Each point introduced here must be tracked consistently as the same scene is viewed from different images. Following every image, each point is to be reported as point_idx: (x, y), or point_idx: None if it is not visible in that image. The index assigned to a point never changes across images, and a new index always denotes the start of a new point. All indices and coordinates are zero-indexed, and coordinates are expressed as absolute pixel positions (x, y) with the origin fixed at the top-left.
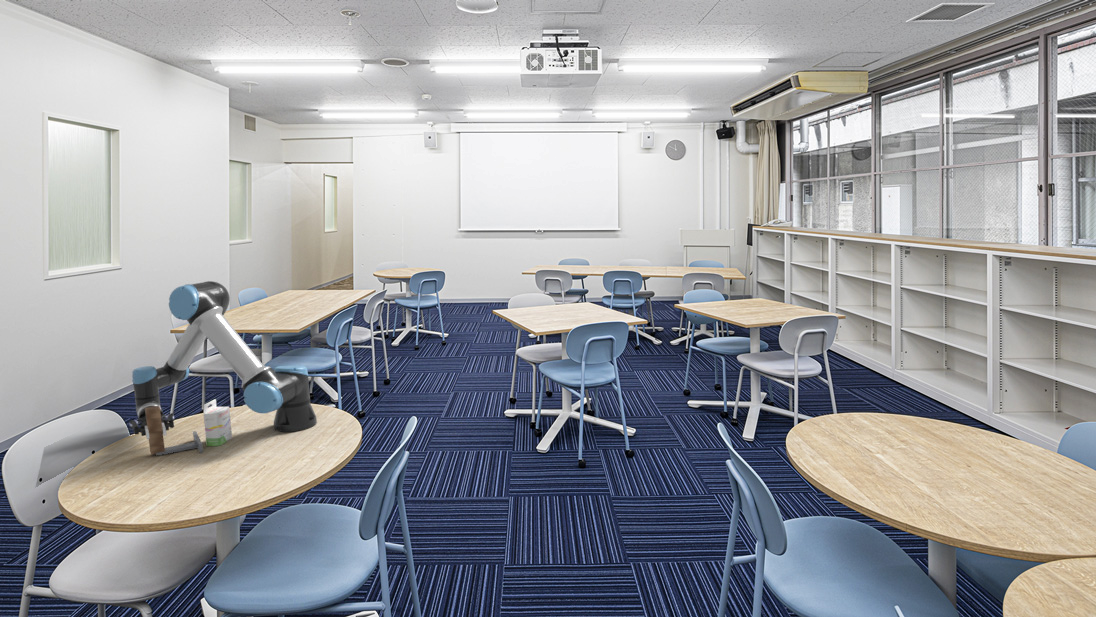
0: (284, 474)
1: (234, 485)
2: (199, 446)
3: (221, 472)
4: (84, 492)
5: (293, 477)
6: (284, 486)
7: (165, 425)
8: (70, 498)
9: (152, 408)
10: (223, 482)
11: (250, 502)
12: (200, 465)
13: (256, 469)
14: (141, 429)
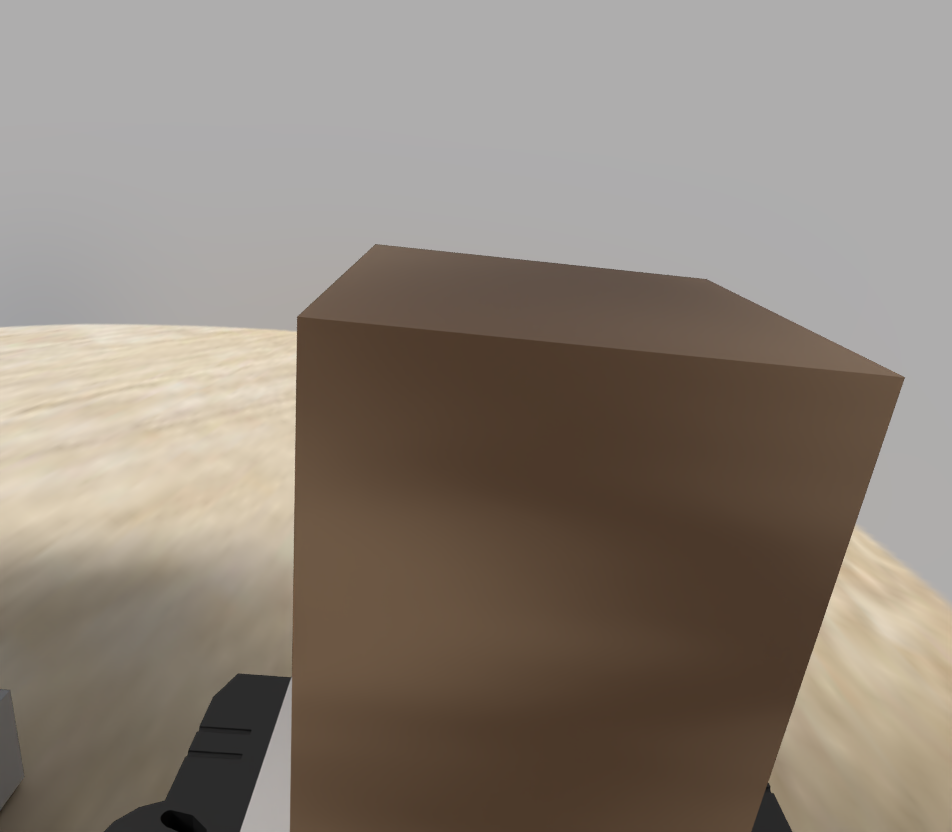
0: (65, 358)
1: (244, 379)
2: (8, 714)
3: (201, 449)
4: (866, 595)
5: (72, 342)
6: (146, 332)
7: (253, 754)
8: (901, 572)
9: (558, 284)
10: (257, 401)
11: (275, 330)
12: (218, 554)
13: (79, 408)
14: (770, 814)
